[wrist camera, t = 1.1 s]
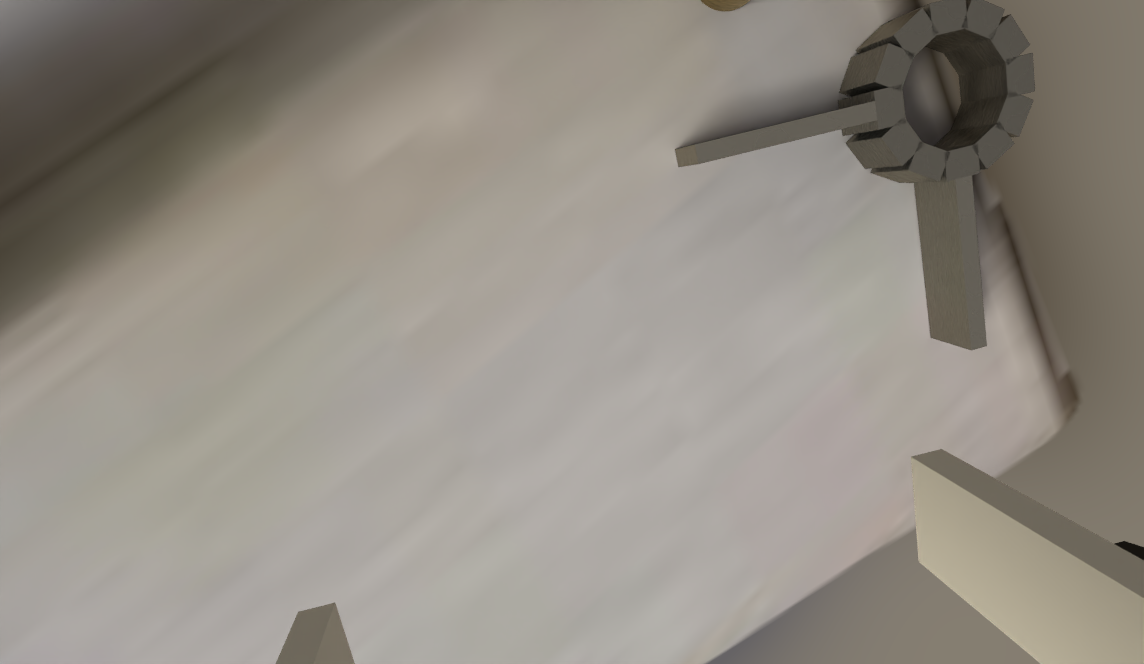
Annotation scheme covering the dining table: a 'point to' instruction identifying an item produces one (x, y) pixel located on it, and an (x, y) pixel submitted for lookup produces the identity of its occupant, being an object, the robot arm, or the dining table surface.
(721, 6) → the pin
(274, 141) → the dining table surface
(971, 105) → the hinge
